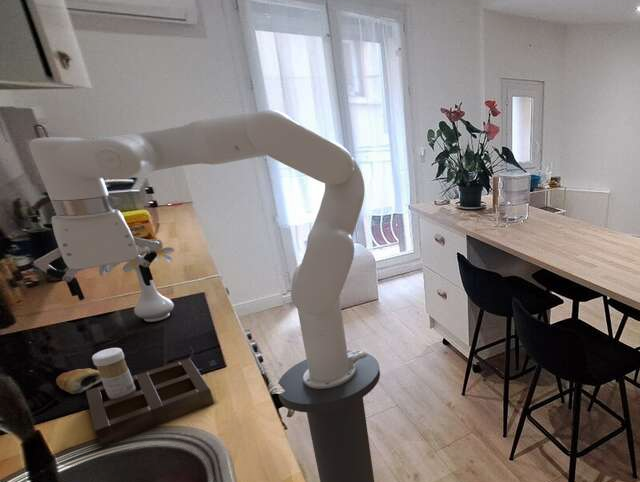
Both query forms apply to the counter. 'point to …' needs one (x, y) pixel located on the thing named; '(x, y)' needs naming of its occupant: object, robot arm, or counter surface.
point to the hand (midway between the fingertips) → (116, 290)
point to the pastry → (78, 380)
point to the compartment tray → (149, 401)
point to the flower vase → (148, 288)
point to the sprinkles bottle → (114, 372)
